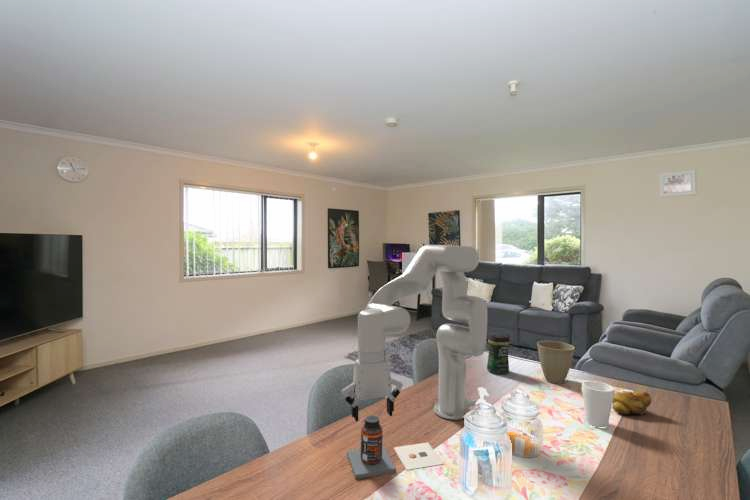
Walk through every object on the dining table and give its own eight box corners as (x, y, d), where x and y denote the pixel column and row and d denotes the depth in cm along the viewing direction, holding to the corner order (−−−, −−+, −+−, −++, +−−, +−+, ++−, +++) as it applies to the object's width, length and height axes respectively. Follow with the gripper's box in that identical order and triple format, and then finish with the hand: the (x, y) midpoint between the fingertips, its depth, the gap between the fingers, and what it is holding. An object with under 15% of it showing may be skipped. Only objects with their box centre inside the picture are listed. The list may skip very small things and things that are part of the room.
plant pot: (580, 387, 155) (581, 350, 155) (545, 386, 155) (546, 349, 155) (563, 374, 170) (563, 340, 170) (530, 374, 170) (531, 340, 170)
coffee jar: (493, 375, 168) (494, 335, 168) (484, 369, 176) (485, 331, 175) (512, 373, 171) (512, 334, 170) (502, 368, 178) (502, 330, 178)
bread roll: (623, 419, 128) (624, 396, 127) (601, 406, 137) (602, 385, 137) (654, 416, 130) (655, 393, 130) (630, 404, 140) (631, 383, 139)
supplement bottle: (366, 468, 97) (366, 425, 96) (357, 456, 102) (357, 416, 102) (386, 462, 99) (386, 421, 99) (376, 450, 105) (376, 411, 104)
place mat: (383, 449, 107) (383, 445, 107) (395, 472, 97) (395, 468, 97) (347, 454, 104) (347, 451, 104) (355, 478, 94) (355, 475, 94)
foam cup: (577, 423, 124) (578, 385, 123) (584, 414, 131) (585, 378, 130) (610, 434, 117) (611, 393, 117) (615, 423, 124) (616, 385, 124)
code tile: (427, 442, 111) (427, 442, 111) (444, 463, 100) (444, 463, 100) (393, 447, 108) (393, 447, 108) (406, 470, 98) (406, 469, 98)
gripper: (397, 348, 106) (398, 405, 107) (338, 354, 101) (339, 414, 102) (406, 356, 99) (407, 418, 100) (343, 363, 94) (344, 428, 95)
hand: (372, 416), depth 101 cm, fingers open, 9 cm apart
